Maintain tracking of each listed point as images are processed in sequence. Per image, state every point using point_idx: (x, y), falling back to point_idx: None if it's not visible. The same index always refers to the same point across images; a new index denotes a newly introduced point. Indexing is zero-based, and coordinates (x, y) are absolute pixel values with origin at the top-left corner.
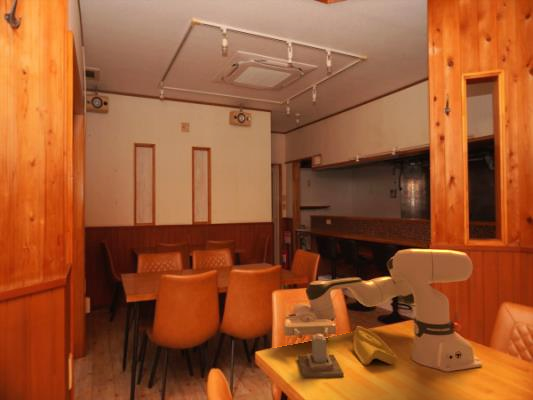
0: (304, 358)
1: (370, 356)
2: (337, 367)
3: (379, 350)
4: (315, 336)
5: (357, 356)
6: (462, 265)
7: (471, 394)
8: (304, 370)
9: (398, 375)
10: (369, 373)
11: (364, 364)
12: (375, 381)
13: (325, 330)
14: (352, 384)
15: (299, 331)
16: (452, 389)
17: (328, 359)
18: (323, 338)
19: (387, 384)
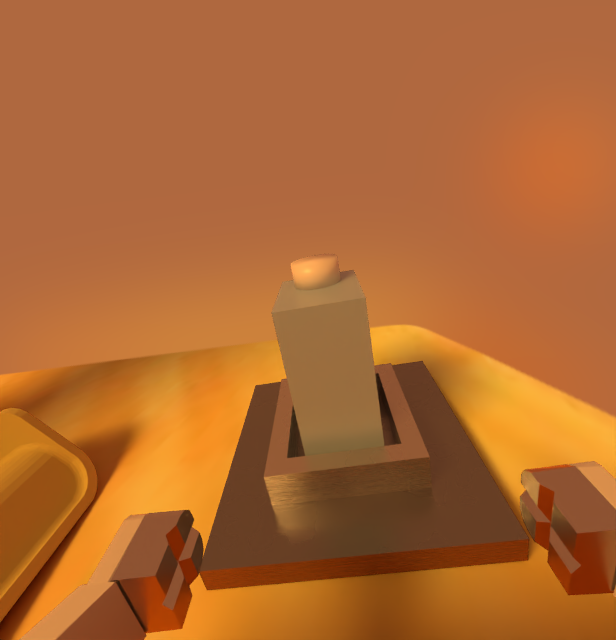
0: (449, 494)
1: (54, 441)
2: (260, 415)
3: (2, 411)
4: (339, 291)
5: (26, 586)
6: None
7: (11, 375)
8: (422, 380)
9: (59, 424)
10: (144, 426)
11: (94, 485)
12: (170, 389)
13: (103, 579)
14: (252, 370)
15: (614, 524)
16: (19, 384)
17: (288, 407)
18: (291, 288)
19: (149, 381)
